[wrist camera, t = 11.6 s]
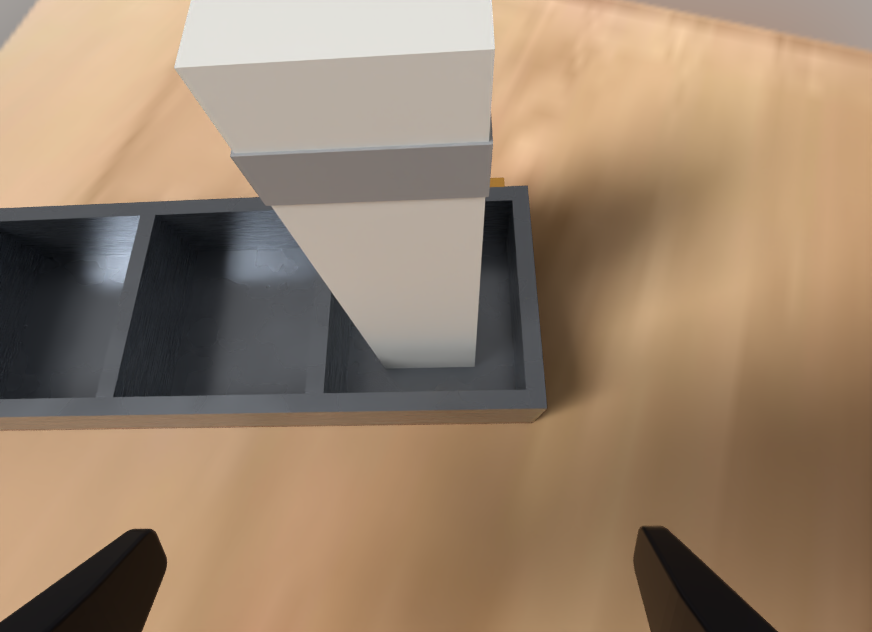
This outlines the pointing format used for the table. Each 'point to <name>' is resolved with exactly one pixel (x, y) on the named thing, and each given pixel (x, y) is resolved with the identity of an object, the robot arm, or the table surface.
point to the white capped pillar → (363, 150)
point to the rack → (235, 325)
